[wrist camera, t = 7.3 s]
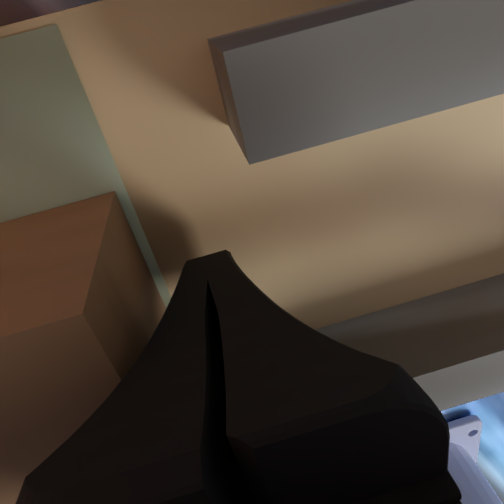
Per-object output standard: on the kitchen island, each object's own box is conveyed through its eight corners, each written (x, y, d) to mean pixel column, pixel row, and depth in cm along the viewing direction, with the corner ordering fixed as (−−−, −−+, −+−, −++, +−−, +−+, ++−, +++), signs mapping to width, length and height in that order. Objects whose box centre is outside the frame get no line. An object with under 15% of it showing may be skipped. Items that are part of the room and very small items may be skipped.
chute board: (596, 275, 18) (712, 348, 14) (54, 438, 17) (23, 562, 13) (721, -160, 11) (1036, -252, 7) (-229, 89, 10) (-485, 145, 6)
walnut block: (185, 352, 14) (194, 504, 10) (38, 395, 14) (-18, 570, 9) (114, 190, 11) (82, 313, 6) (-78, 244, 10) (-242, 407, 6)
